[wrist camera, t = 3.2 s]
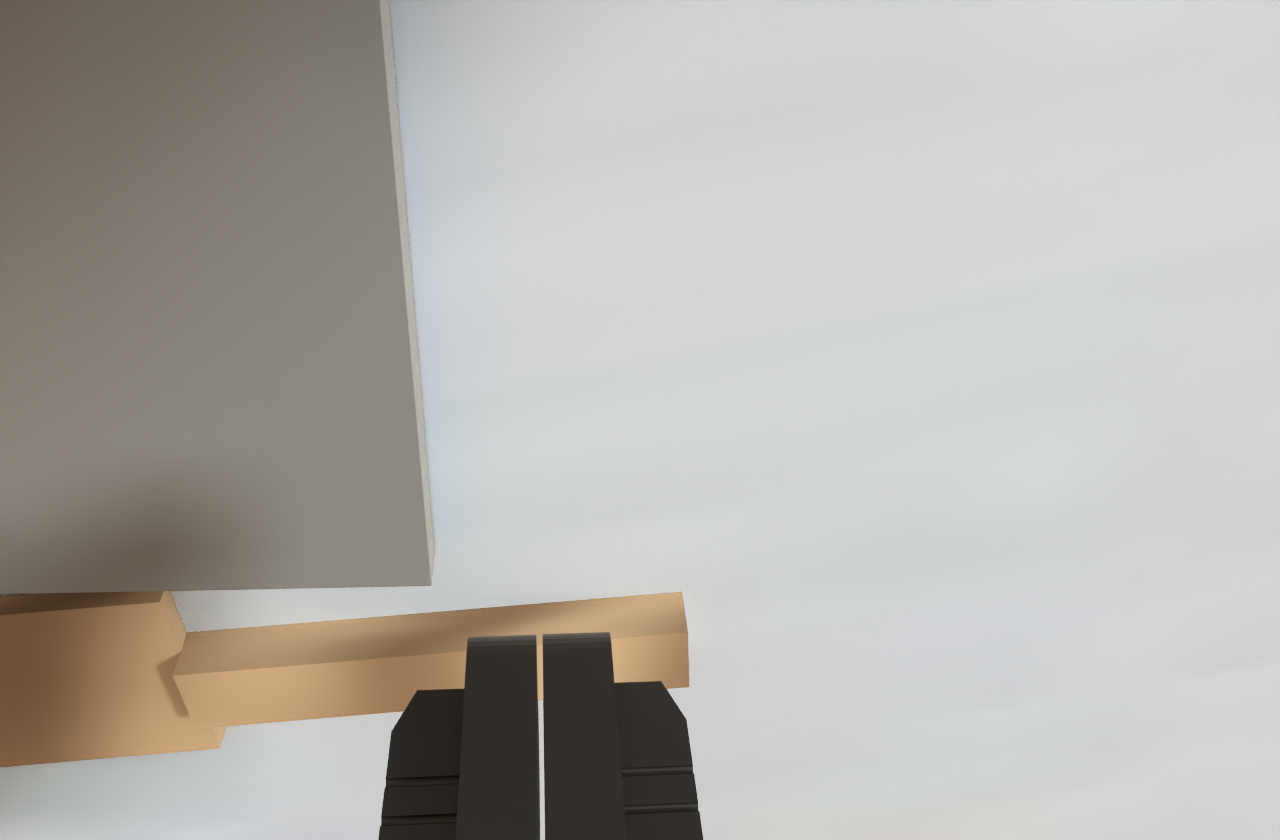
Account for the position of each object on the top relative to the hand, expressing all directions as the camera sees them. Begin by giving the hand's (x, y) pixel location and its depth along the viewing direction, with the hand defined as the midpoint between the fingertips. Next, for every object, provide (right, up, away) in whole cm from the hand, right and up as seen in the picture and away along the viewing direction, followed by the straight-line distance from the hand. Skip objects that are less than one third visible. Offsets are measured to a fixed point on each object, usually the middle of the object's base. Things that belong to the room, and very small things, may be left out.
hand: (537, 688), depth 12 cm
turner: (-6, -2, +11) cm, 13 cm away
